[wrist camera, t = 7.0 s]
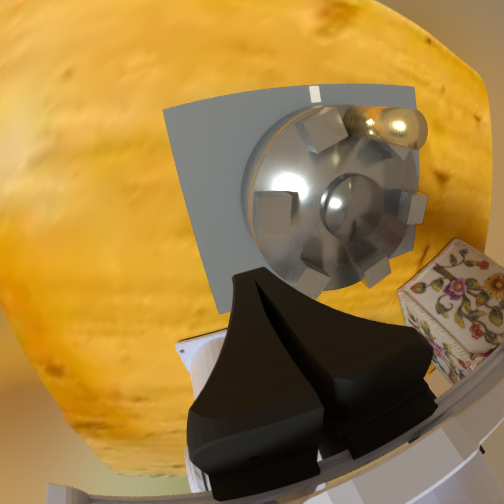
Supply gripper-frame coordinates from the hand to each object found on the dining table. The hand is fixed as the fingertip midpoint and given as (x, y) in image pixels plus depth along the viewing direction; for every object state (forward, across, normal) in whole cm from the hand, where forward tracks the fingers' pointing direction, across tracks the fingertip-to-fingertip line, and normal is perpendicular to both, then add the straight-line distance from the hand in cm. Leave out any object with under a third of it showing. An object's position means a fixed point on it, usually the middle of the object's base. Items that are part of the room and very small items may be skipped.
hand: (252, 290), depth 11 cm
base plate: (+10, -8, 0) cm, 13 cm away
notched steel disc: (+9, -8, 0) cm, 12 cm away
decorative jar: (+11, -25, +17) cm, 32 cm away
